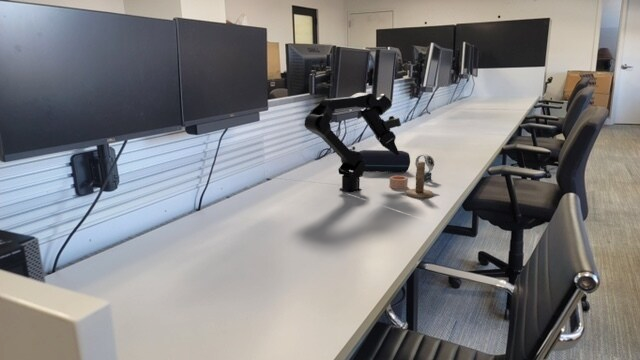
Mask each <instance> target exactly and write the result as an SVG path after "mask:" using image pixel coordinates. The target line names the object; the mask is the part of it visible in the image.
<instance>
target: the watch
mask: <svg viewBox="0 0 640 360" xmlns="http://www.w3.org/2000/svg"><path fill="white" fill-rule="evenodd" d="M421 157H423V158H424V162H425V166H427V167H428V170H427V171H426V170H425V174H424V182H427V181H432V174H433V173H432V171H433V169H434V166H435V160H434V158H433V157H432V156H431V155H428V154H425V153H424V154H420V155H418V156H417V157H416V158H415V162H414V164H415V168H416V169H417V162H420V159H421Z"/></svg>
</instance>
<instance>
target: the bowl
mask: <svg viewBox="0 0 640 360" xmlns="http://www.w3.org/2000/svg"><path fill="white" fill-rule="evenodd" d="M408 183H409V178H408V177H407V176H405V175H404V176H403V175H393V176H390V177H389V184H388V185H389V188H391V189H395V190H403V189H404V190H405V189H407V188H408V185H409V184H408Z"/></svg>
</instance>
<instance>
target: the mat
mask: <svg viewBox="0 0 640 360" xmlns="http://www.w3.org/2000/svg"><path fill="white" fill-rule="evenodd" d="M398 194H399V195H401V196H405V197H407V198H412V199H415V200H418V201H421V202H422V201H425V200H428V199H432V198H436V197H438V196H440V194H438V193H434V192H433V196H432V197H429V198H414V197H410V196H407V195H406V191H404V192H400V193H398Z"/></svg>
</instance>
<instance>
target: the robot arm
mask: <svg viewBox="0 0 640 360" xmlns="http://www.w3.org/2000/svg"><path fill="white" fill-rule="evenodd" d="M392 106H393V103H392V100H390V98H389V97H387V96H386V94H385V93H381V94H379V95H378V97H375V95H374V94H373V93H371V92H357V93H354V94H353V95H351V96H346V97H335V98H324V99H322V100H321V101H320V103H319V104H318V105H317V106H315V107H314V108H313V109H312V110H311V111H310V113H309V114H308V115H307V116H306V117H305V120H304V127H305V129H306V130H308V131H309V132H311V133H312V134H314V135H316V136H318V137H320V138H321V139H322V140H323V141H324V142H325V143H326V144H327V145H328V146H329V148H330V149H332V150H333V151H334V152H335V154H336V155H338V157H340V158H339V159H340V161H341V165H340V167H339V168H338V174H339V175H342V176H341V177H342V178H341V187H340V188H339V191H342V192H344V193H350V194H351V193H355V192H359V191H362V190H363V189H362V188H360V187H361V186H360V182H361V181H360V178H361V177H363V175H364V168H365V160H364V159H363V158H364V157H362V156H361V154H360V153H359V151H357V150H352V149H349V148H348V146H347V145H346V144H345V143H344V142H343V141H342V140H341V139H340V137H338V135H336V134H335V132H334V131H333V130H332V127H331V123H330V122H331V121H332V118H333V113H334V111H335V110H342V109H349V108H362V109H363V108H364V109H363V110H359V111H357V116H356V118H357V119H361V118H363V120H364V122H365V123H366V124H367V126H368V128H369V129H370V130H371V131H372V133H373V134H374V135H375V139H376V140H377V142H378V143H380V144H381V146H382V147H384V148H385V149H387V150H389V151H391V152H393V153H394V154H396V155H399V152H398V151H399V149H398V148H397V145H396V142H395V141H396V138H397V137H396V134H395V133H394V132H393V131H392V130H391V129H394V128H396V127H397V128H398V127H402V124H401V123H402V122H401V120H400V117H395V116H394V115H391V116H388V119H386V120H385V119H383V118H382V117H381V116H382V115H384V114H385V113H386V112H387V111H389V109H391V108H392ZM322 114H323V115H322Z"/></svg>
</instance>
